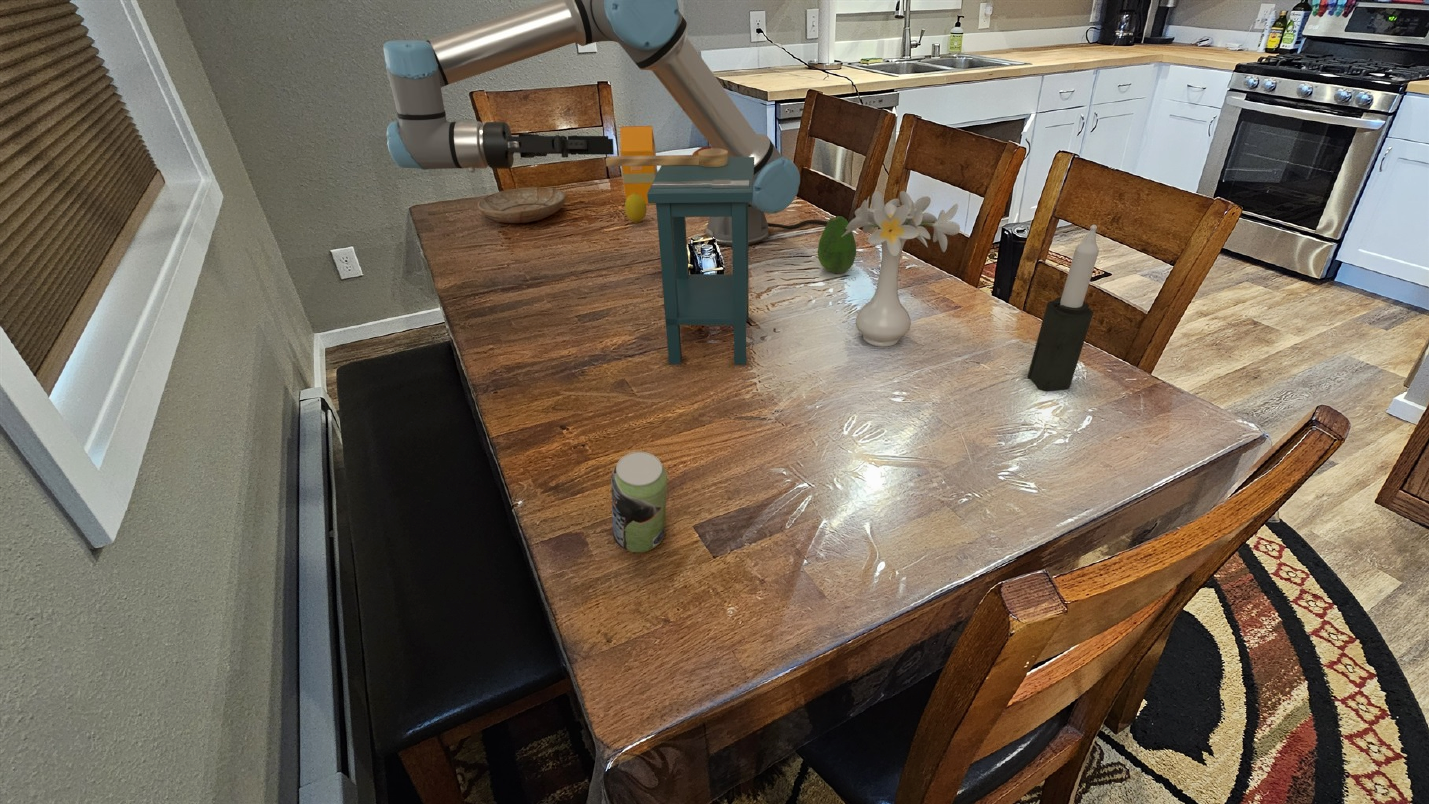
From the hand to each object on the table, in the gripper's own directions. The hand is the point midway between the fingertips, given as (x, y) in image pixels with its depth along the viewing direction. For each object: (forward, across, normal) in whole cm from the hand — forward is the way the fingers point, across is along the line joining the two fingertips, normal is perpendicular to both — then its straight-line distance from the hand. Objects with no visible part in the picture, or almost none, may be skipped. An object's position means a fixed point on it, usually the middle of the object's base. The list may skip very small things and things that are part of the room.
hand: (611, 145), depth 115 cm
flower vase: (+47, +14, -32) cm, 58 cm away
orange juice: (+4, -74, -13) cm, 75 cm away
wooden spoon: (+10, +10, -3) cm, 14 cm away
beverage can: (+5, +57, -45) cm, 72 cm away
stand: (+17, +10, -32) cm, 38 cm away
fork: (+14, +24, -6) cm, 28 cm away
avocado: (+45, -15, -25) cm, 54 cm away
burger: (+25, -90, -8) cm, 93 cm away
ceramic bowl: (-28, -66, -17) cm, 74 cm away
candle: (+68, +32, -35) cm, 83 cm away
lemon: (+2, -54, -18) cm, 57 cm away
